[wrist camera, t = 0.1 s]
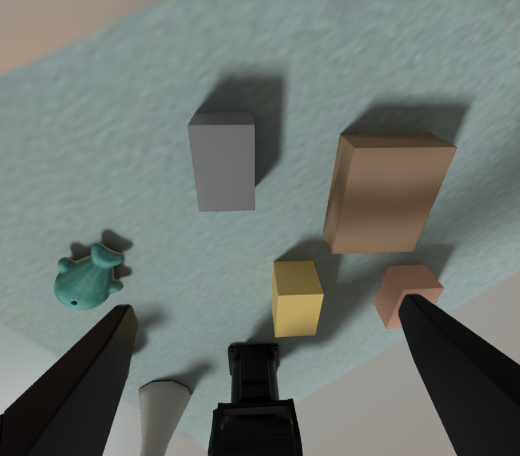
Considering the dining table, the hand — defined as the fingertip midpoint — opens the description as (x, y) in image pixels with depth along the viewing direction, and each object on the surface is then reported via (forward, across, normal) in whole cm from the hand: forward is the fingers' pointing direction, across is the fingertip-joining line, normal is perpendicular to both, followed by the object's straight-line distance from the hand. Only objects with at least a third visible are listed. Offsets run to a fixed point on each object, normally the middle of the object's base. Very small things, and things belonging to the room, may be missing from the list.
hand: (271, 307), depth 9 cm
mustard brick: (+15, -4, +14) cm, 21 cm away
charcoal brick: (+15, +2, 0) cm, 15 cm away
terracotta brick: (+15, -16, +15) cm, 26 cm away
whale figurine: (+15, +15, +11) cm, 24 cm away
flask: (+15, +13, +36) cm, 41 cm away
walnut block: (+15, -10, +3) cm, 18 cm away
